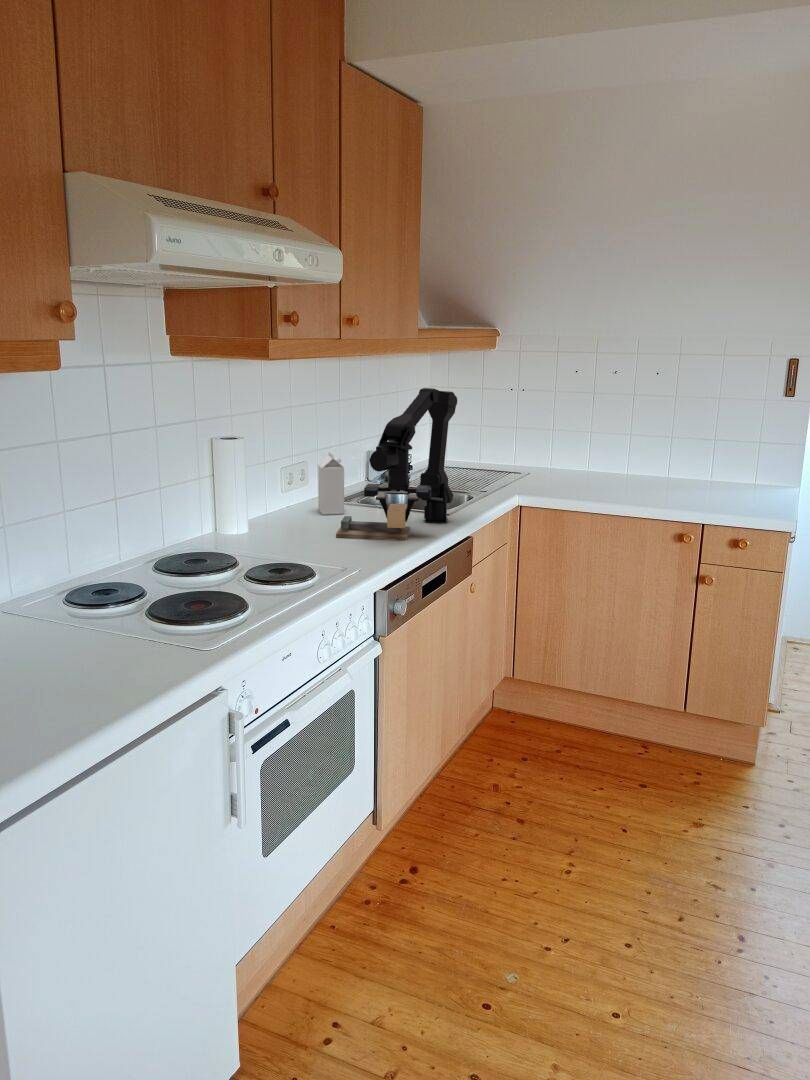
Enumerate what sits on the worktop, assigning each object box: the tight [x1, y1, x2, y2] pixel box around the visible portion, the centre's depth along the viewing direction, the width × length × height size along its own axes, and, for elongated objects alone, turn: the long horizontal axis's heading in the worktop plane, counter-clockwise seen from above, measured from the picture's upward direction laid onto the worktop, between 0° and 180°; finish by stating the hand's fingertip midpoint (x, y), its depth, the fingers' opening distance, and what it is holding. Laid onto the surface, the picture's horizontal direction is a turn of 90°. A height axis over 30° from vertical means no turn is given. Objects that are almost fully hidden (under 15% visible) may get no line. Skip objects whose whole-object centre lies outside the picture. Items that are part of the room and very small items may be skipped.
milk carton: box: [317, 451, 345, 516], centre depth 266 cm, size 7×7×19 cm
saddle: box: [386, 503, 408, 528], centre depth 240 cm, size 5×9×5 cm, turn 175°
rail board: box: [335, 515, 411, 541], centre depth 241 cm, size 20×12×4 cm, turn 85°
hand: (397, 520), depth 240 cm, fingers closed on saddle, 5 cm apart
